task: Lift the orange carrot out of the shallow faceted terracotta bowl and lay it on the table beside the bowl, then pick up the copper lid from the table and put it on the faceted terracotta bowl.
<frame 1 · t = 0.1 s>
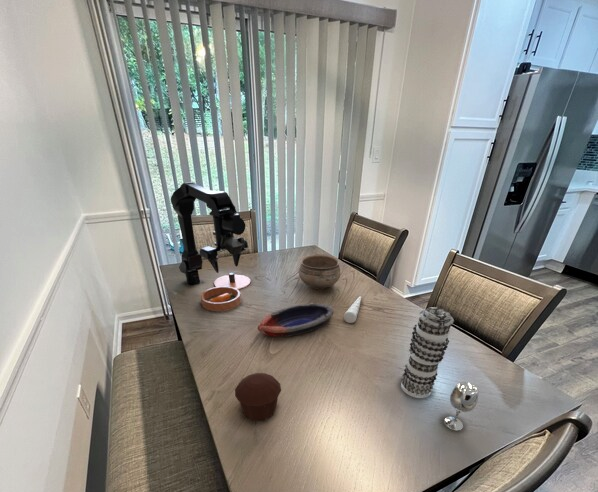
hand: (227, 269, 127), 15 cm above the table, tool pointing down, fingers open, 9 cm apart
cooking pot: (318, 286, 150), on the table
wineglass: (453, 424, 82), on the table
decorative candle: (415, 388, 93), on the table
carrot: (221, 302, 134), resting on faceted terracotta bowl
muffin: (259, 408, 85), on the table
unicorn horn: (354, 310, 131), on the table
faceted terracotta bowl: (221, 302, 135), on the table
lid: (232, 282, 150), point 1 cm above the table
dish: (296, 326, 120), on the table
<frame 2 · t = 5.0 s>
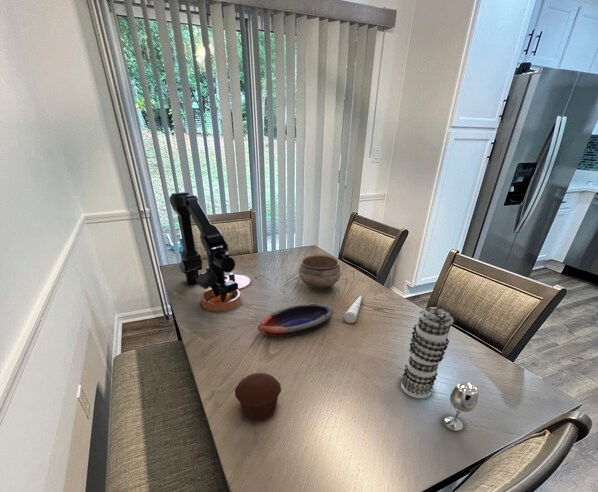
hand: (220, 300, 134), 1 cm above the table, tool pointing down, fingers closed on carrot, 3 cm apart
carrot: (221, 302, 134), resting on faceted terracotta bowl, touching gripper
everything else where it was.
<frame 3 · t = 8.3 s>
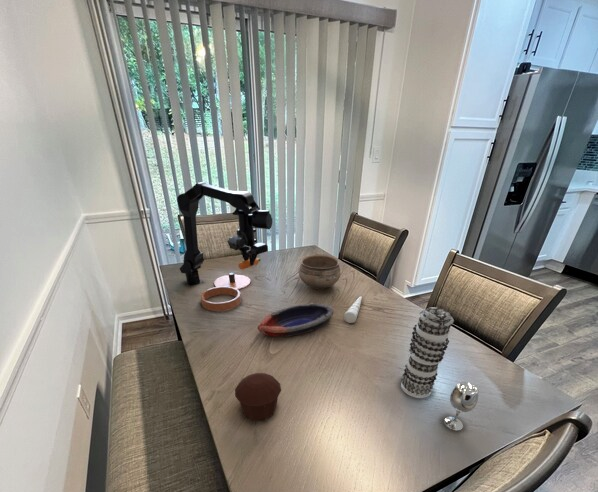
hand: (249, 264, 136), 13 cm above the table, tool pointing down, fingers closed on carrot, 3 cm apart
carrot: (250, 266, 136), point 12 cm above the table, touching gripper
everything else where it was.
when the fingers open (1 cm above the table, at t = 11.8 s): carrot stays where it is, on the table.
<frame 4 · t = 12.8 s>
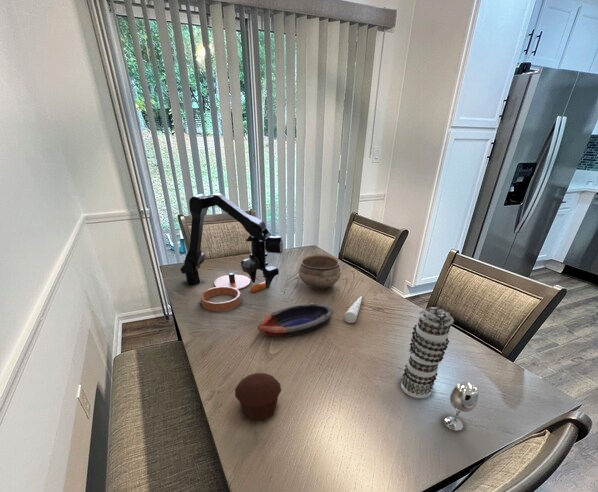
hand: (260, 285, 145), 2 cm above the table, tool pointing down, fingers open, 9 cm apart
carrot: (261, 289, 146), on the table
everything else where it was.
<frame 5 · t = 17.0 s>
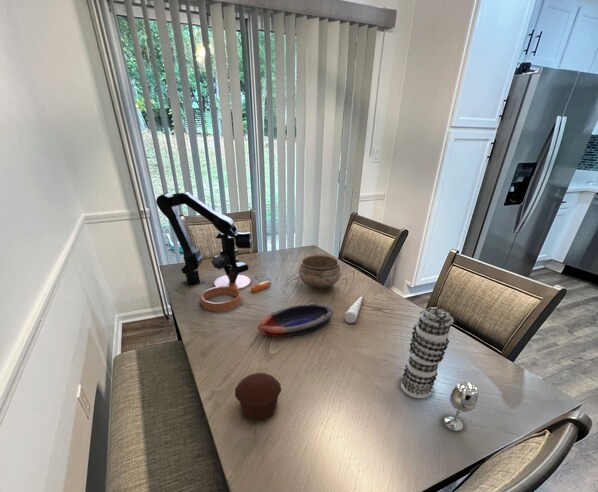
hand: (232, 281, 150), 1 cm above the table, tool pointing down, fingers closed on lid, 3 cm apart
carrot: (261, 289, 146), on the table, tilted 11°
lid: (232, 282, 150), point 1 cm above the table, touching gripper
everything else where it was.
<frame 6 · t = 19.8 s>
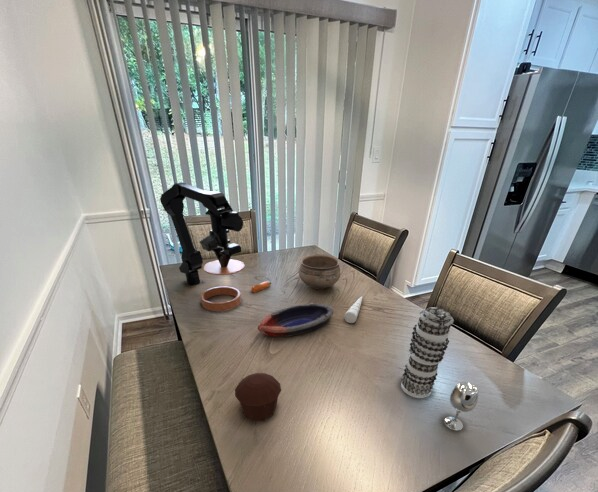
hand: (223, 265, 135), 13 cm above the table, tool pointing down, fingers closed on lid, 3 cm apart
carrot: (261, 289, 146), on the table, tilted 17°
lid: (224, 267, 135), point 12 cm above the table, touching gripper
everything else where it was.
when the fingers open (5 cm above the table, at t = 22.7 s): lid stays where it is, resting on faceted terracotta bowl.
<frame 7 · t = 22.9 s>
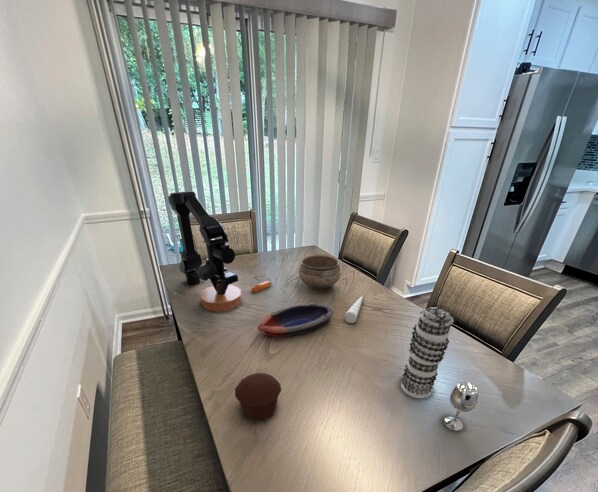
hand: (220, 293, 132), 5 cm above the table, tool pointing down, fingers open, 4 cm apart
carrot: (261, 289, 146), on the table, tilted 23°
lid: (220, 294, 132), point 4 cm above the table, touching faceted terracotta bowl
everything else where it was.
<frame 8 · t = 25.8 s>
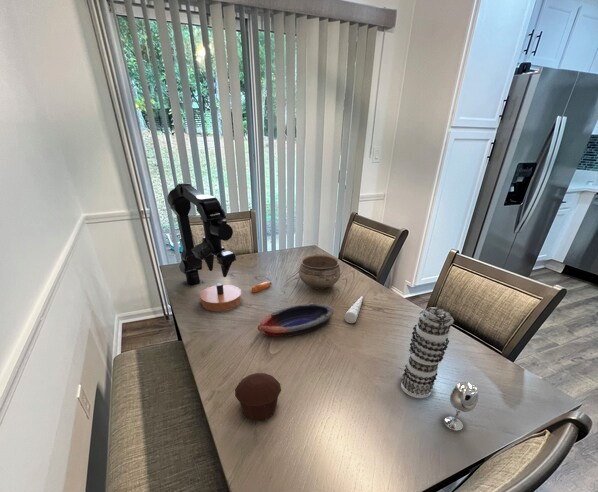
hand: (217, 273, 127), 13 cm above the table, tool pointing down, fingers open, 9 cm apart
carrot: (261, 288, 146), on the table, tilted 29°
everything else where it was.
at the end: carrot inside the target area (0.3 cm from its centre), on the table; lid 0.1 cm off-centre on the faceted terracotta bowl, point 3.9 cm above the faceted terracotta bowl's base; lid tilted 0° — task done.
